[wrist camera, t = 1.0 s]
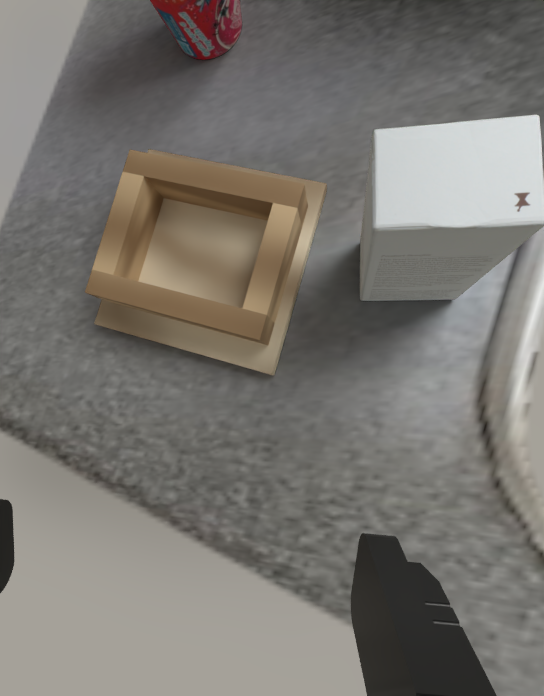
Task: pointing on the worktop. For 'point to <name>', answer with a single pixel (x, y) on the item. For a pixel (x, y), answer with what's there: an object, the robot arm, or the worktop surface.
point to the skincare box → (448, 205)
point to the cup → (202, 25)
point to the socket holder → (205, 256)
